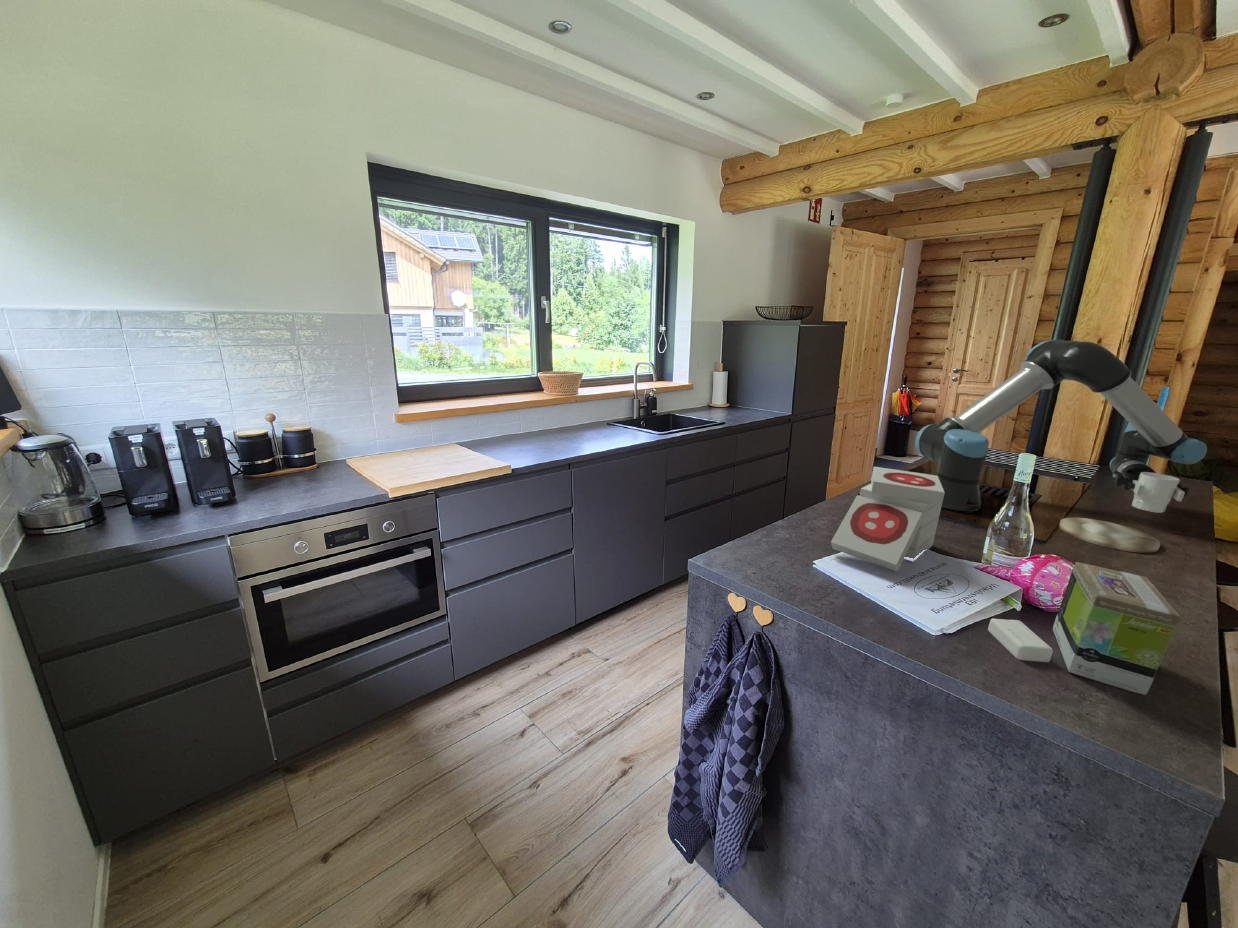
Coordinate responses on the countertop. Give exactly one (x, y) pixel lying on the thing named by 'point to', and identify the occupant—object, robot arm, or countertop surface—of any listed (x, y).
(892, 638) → the countertop surface
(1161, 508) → the white cup
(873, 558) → the pizza boxes
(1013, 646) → the soap
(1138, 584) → the tea box
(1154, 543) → the turntable platter
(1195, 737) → the countertop surface
